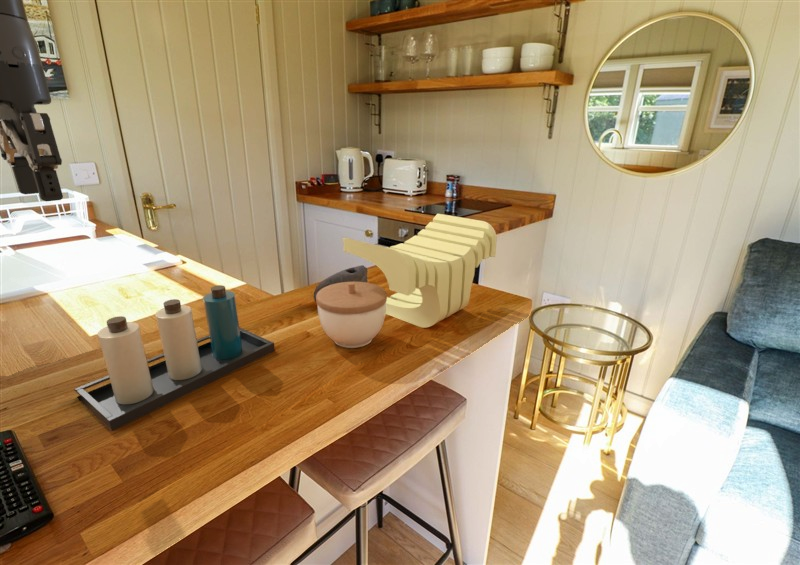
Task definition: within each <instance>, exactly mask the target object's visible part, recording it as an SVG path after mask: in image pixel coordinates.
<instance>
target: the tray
mask: <svg viewBox="0 0 800 565" xmlns="http://www.w3.org/2000/svg"><path fill="white" fill-rule="evenodd" d="M239 328H240V335H241V342H242V350H243V351H242V353H241V354H240V355H239V356H237V357H235V358H232V359H227V360H219V359H215V358H214V357H213V355H212V349H211V343H210V341H209V342H205V343H204V344H201V345H198V349H199V354H200V360H201V365H202V370H201V372H200V373H199V374H197V375H196V376H194V377H192V378H189V379H184V380H173V379H171V378H169V376H168V372H167V367H166V362H165V360H162V361H160V362H157V363H155V364H152V365H150V366H149V371H150V375H151V379H152V384H153V388H154V391H153V393H152V394H151V395H150V396H149V397H148V398H146V399H144V400H142V401H140V402H137V403H134V404H126V405H124V404H119V403H117V402H116V400H115V397H114V393H113V390H112V386H111V382H109V383H107V384H103V385H102V386H99V387H97V388H95V389H93V390H90V391H86V390H85V389H89V388H90V387H93V386H95V385H97V384H101V383H103V382H104V381H108V380H110V379H109V375H108V374H107V375H105V376H103V377H101V378H98V379H95V380H93V381H90V382H87V383H86V384H83V385H80V386H78V387H75V388H74V389H73V390H74V391H75V392H76V393H77V394H78V396H76V399H77V400H78V401H79V402H80V403H81V404H82V405H83V406H85V407H86V408H87V409H88V410H89V411H90V412H91V413H92V414H93V415H94V416H95V417H96V418H97V419H98V420H99V421H101V422H102V424H103V425H104V426H106V427H107V428H108V429H109V430H110V431H111V432H112V431H115V430H117V429H119V428H121V427H123V426H125V425H127V424H130V423H131V422H133V421H135V420H138V419H139V418H142V417H144V416H145V415H147V414H149V413H151V412H154V411H156V410H157V409H159V408H162V407H164V406H166V405H168V404H169V403H172V402H173V401H176V400H178V399H181V398H182V397H184V396H186V395H188V394H190V393H192V392H194V391H196V390H198V389H200V388H202V387H205V386H206V385H208V384H210V383H213V382H215V381H216V380H219V379H221V378H222V377H224V376H226V375H227V376H228V375H229V374H231V373H233V372H235V371H236V370H240V369H241V368H243V367H245V366H247V365H249V364H251V363H253V362H255V361H257V360H259V359H260V358H263V357H265V356H267V355H269V354H272V353H273V352H276V350H275V349H276V348H275V342H273V341H271V340H268V339H266V338H264V337H262V336H260V335H258V334H256V333H253V332H251V331H249V330H246V329H244V328H242V327H240V326H239ZM208 339H210V337H209V334H208V335H205V336H203V337H200V338H197V343H198V344H199V343H201V342H204V341H205V340H208ZM161 358H164V353H160V354H157V355H156V356H153V357H150V358H148V359H147V362H148V364H149V363H151V362H154V361H157V360H159V359H161Z"/></svg>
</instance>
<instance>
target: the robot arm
mask: <svg viewBox="0 0 800 565" xmlns="http://www.w3.org/2000/svg"><path fill="white" fill-rule="evenodd" d="M37 43H38V42H37V41H36V38H35V36H34V33H33V30H32V28H31V25H30V23H29V18H28V14H27V11H26V6H25V4H24V0H0V156H1V158H2V159H3V160H4V161H6V163H7V164H8V166H10V167H11V169H12V172H13V176H14V179H15V182H16V186H17V189H18V192H19V193H20V194H22V195H33V194H38V196H39V198H40V200H41V201H43V202H53V201H62V199H63V198H64V195H63V191H62V188H61V184H60V180H59V177H58V176H59V175H58V173H57V170H58V169H59V166H62V164H63V160H62V157H61V154H60V151H59V148H58V144H57V140H56V137H55V133H54V129H53V127H52V123H51V118H50V116H49V114H48V113H46V112H37V109H36V108H35V106H45V105H47V106H48V105H50V104H52V96H51V93H50V90H49V85H48V83H47V78H46V73H45V70H44V66H43V62H42V59H41V54H40V51H39V47H38V44H37Z"/></svg>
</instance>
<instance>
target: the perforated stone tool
mask: <svg viewBox="0 0 800 565" xmlns="http://www.w3.org/2000/svg"><path fill="white" fill-rule="evenodd" d="M368 281H369V280H368V268H367V267H366V266H365V265H363V264H362V265H357V266H353V267H349V268H345V269H343V270H340V271H338V272H336V273H334V274H332V275H329V276H328V277H327V278H325V279H323V280H322V281H321V282H320V283H318V284H317V286H316V287H315V288H314V290H313V300H314V301H313V302H315V303H316V304H317V302H316V295H317V293H318V292H319V291H320V290H321V289H322V288H324V287H326V286H329V285H332V284H336V283H342V282H366V283H369V282H368Z"/></svg>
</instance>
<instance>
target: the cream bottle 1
mask: <svg viewBox="0 0 800 565" xmlns="http://www.w3.org/2000/svg"><path fill="white" fill-rule="evenodd" d="M106 325H107V326H105V327H103V328H102V329H100V330H98V332H97V339H98V342H99V346H100V349H101V353H102V356H103V360H104V365H105V368H106V372H107V376H108V375H109V379H108V380H109V383H111V386H112V390H113V393H114V397H115V400H116V402H117V403H119V404H124V405H126V404H134V403H137V402H140V401H142V400H144V399H146V398H148V397H149V396H150V395H151V394H152V393H153V391H154V388H153V384H152V379H151V375H150V371H149V367H150V366H149V363H148V362H147V360H148V359H147V354H146V350H145V345H144V341H143V337H142V332H141V329H140V325H139V324H138V323H137V322H134V321H127V317H126V316H123V315H120V316H114V317H111V318H108V319H107V320H106Z"/></svg>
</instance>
